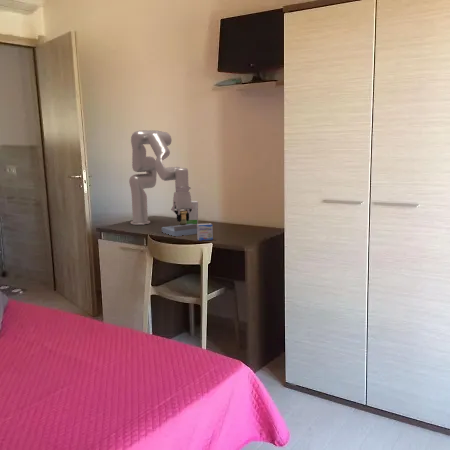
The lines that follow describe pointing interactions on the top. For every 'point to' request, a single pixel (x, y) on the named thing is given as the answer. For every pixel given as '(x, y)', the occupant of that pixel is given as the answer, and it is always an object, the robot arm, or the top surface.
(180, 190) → the robot arm
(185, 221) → the bushing
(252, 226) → the top surface
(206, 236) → the medicine box
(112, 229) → the top surface
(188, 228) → the jig
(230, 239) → the top surface
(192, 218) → the skincare box
